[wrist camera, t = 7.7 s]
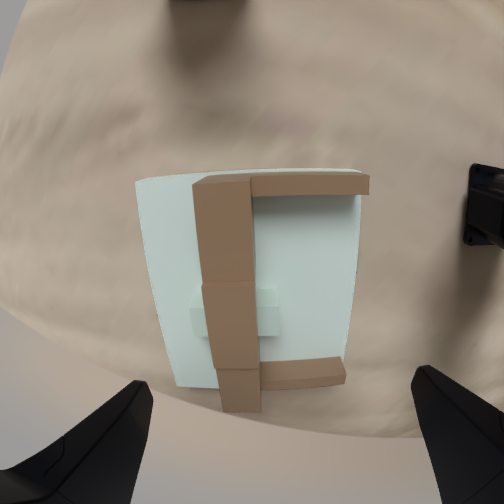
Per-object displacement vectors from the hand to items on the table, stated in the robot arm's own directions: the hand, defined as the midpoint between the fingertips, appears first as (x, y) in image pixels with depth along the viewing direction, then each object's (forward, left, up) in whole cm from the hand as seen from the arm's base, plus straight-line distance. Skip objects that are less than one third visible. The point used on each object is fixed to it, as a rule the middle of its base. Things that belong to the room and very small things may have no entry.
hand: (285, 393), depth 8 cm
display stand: (+1, +2, -12) cm, 12 cm away
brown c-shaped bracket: (-1, +1, -10) cm, 10 cm away
